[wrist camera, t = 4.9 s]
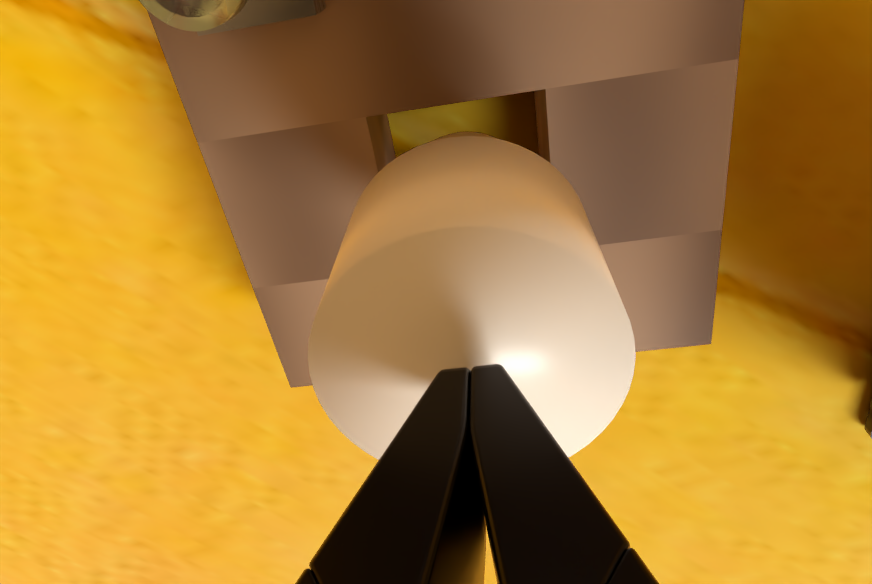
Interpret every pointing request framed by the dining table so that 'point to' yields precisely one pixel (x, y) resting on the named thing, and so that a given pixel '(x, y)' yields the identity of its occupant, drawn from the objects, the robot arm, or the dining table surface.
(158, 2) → the potentiometer
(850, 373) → the dining table surface
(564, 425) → the knob
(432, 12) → the mount
